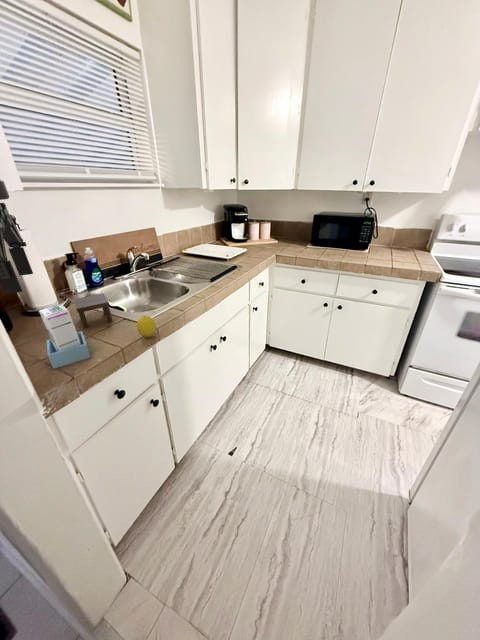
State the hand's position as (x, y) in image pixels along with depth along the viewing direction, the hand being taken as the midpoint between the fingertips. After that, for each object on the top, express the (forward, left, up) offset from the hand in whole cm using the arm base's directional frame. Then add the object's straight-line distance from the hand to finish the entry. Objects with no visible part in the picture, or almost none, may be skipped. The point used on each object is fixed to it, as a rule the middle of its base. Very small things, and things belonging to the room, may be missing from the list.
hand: (21, 282), depth 60 cm
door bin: (-5, +4, -25) cm, 26 cm away
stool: (-25, +14, -25) cm, 38 cm away
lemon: (-2, +26, -25) cm, 36 cm away
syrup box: (-5, +4, -24) cm, 25 cm away
